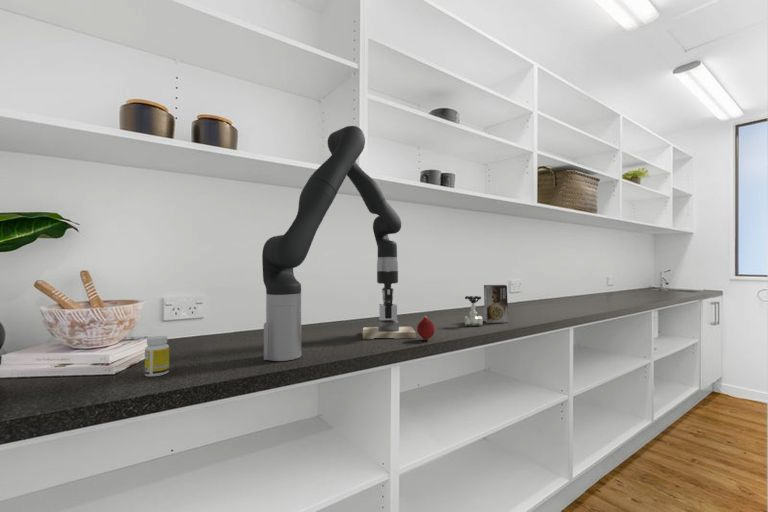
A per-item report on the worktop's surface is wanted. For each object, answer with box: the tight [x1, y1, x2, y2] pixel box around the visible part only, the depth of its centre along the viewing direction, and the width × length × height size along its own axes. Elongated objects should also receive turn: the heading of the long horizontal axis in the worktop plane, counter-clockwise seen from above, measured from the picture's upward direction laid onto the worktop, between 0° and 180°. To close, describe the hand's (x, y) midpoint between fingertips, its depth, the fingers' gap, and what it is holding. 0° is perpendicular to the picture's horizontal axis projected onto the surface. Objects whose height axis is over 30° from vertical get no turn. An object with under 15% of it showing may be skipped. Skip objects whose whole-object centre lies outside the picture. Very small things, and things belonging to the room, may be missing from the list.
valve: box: [464, 295, 484, 327], centre depth 145 cm, size 7×7×12 cm
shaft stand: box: [362, 302, 417, 340], centre depth 127 cm, size 18×12×15 cm, turn 93°
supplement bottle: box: [144, 335, 170, 378], centre depth 82 cm, size 5×5×8 cm
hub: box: [378, 303, 398, 320], centre depth 127 cm, size 6×6×5 cm
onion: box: [416, 315, 436, 341], centre depth 117 cm, size 6×6×8 cm
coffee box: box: [483, 284, 509, 324], centre depth 156 cm, size 9×6×16 cm
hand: (387, 316), depth 127 cm, fingers closed on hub, 6 cm apart
